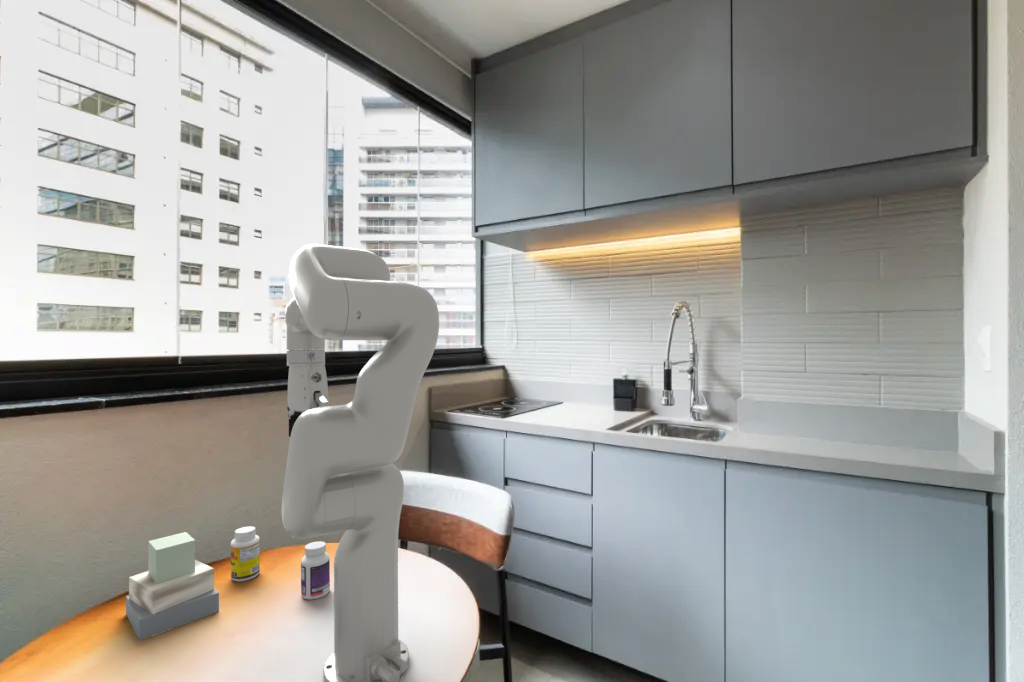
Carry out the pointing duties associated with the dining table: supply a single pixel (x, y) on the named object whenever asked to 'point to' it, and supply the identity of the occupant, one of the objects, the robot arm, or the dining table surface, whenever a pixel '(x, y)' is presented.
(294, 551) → the dining table surface
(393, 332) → the robot arm
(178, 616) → the base block
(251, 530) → the supplement bottle
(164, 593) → the top block
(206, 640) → the dining table surface
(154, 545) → the sage block
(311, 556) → the pill bottle
